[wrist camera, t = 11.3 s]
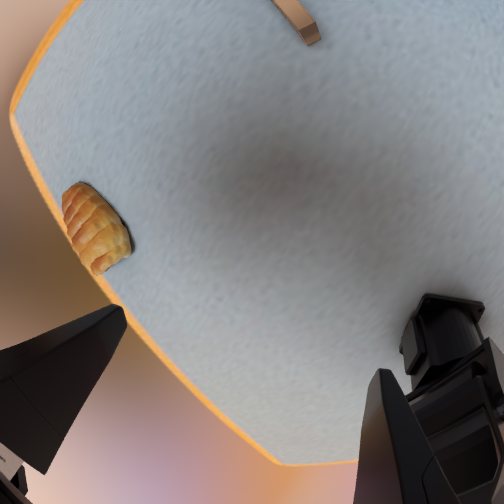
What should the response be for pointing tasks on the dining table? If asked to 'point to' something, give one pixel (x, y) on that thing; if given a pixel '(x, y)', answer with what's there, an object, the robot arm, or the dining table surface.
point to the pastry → (94, 228)
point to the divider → (299, 19)
